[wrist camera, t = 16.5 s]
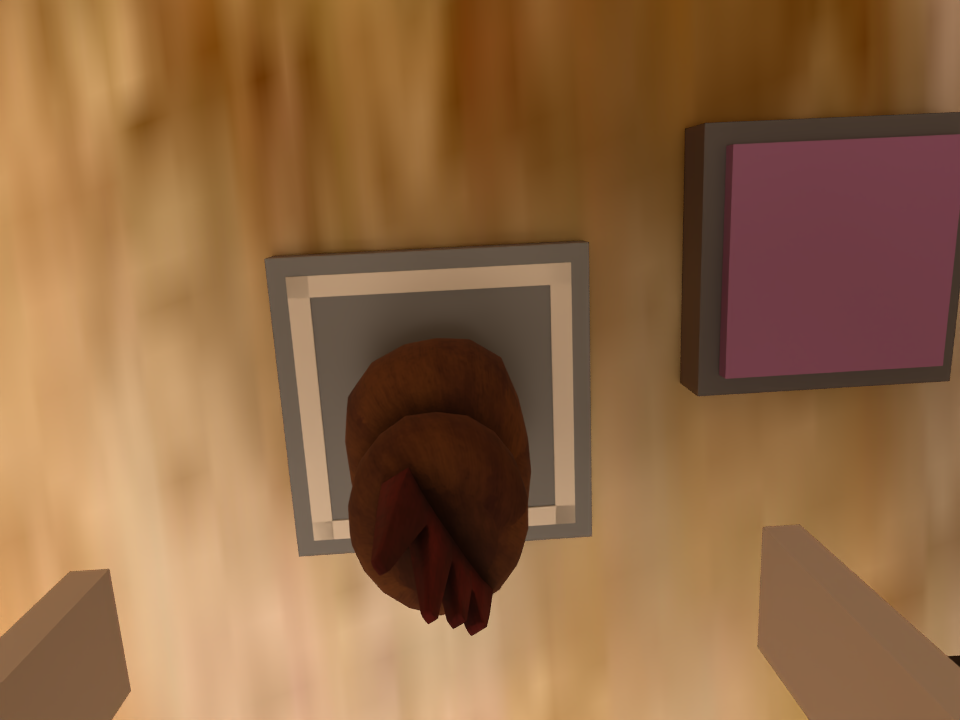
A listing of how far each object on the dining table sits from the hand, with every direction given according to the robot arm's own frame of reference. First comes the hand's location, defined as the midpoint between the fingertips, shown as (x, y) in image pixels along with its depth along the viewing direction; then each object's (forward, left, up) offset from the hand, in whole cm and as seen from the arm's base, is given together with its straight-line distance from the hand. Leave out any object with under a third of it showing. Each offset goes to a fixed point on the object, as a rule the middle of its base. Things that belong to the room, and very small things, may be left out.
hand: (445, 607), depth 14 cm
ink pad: (-15, -5, -15) cm, 21 cm away
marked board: (0, 0, -15) cm, 15 cm away
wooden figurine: (0, 0, -14) cm, 14 cm away
